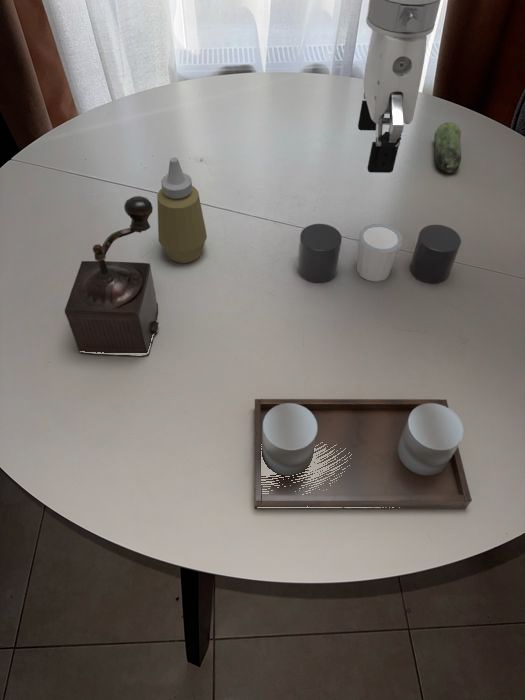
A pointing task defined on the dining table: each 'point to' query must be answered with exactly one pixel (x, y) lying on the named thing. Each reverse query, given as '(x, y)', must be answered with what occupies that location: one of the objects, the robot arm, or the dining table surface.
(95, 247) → the manual coffee grinder
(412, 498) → the tray
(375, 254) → the white cup
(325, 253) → the grey cylinders
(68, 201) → the dining table surface
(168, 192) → the squeeze bottle
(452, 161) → the vegetable
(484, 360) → the dining table surface
